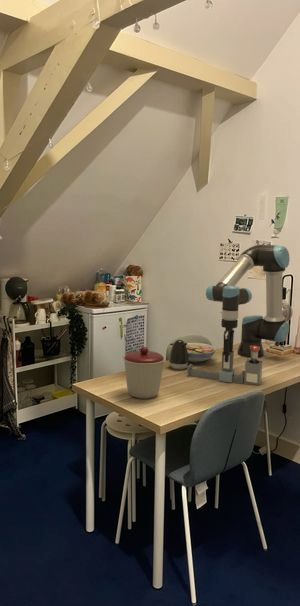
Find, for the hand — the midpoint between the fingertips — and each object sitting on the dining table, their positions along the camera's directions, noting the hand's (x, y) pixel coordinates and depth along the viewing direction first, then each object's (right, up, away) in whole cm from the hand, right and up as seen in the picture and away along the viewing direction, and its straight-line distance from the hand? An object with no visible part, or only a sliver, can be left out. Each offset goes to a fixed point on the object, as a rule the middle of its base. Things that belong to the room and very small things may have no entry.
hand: (227, 366), depth 215 cm
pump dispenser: (-22, -4, +19) cm, 29 cm away
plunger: (+12, +3, -2) cm, 13 cm away
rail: (-5, -6, +3) cm, 9 cm away
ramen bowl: (-12, -2, +34) cm, 36 cm away
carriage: (0, -7, +1) cm, 7 cm away
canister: (-40, -9, -21) cm, 46 cm away
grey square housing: (+12, -7, -1) cm, 14 cm away
